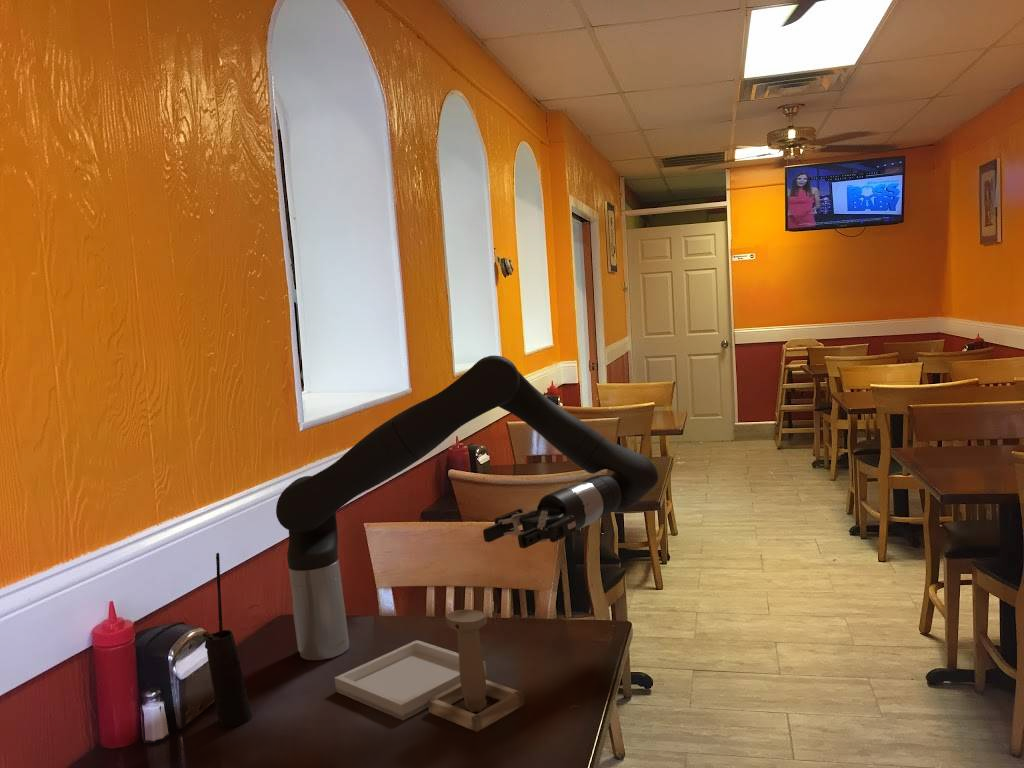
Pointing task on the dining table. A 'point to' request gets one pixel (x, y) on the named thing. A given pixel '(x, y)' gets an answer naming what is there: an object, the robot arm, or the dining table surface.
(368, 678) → the tray
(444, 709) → the wooden square frame
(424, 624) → the dining table surface
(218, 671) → the butter churn
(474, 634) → the handle
